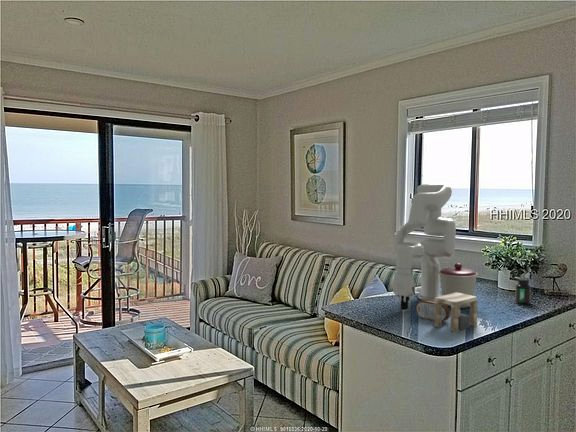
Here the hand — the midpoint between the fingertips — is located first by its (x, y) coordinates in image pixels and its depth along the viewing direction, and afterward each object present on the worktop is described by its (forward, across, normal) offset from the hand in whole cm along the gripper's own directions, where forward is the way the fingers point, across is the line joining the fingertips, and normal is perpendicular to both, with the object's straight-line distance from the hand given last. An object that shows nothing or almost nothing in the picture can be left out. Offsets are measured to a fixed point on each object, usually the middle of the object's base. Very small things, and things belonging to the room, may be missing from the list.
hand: (404, 309), depth 212 cm
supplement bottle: (+1, +26, +58) cm, 63 cm away
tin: (+1, +16, 0) cm, 16 cm away
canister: (+1, +9, +29) cm, 30 cm away
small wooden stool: (+1, +28, 0) cm, 28 cm away
